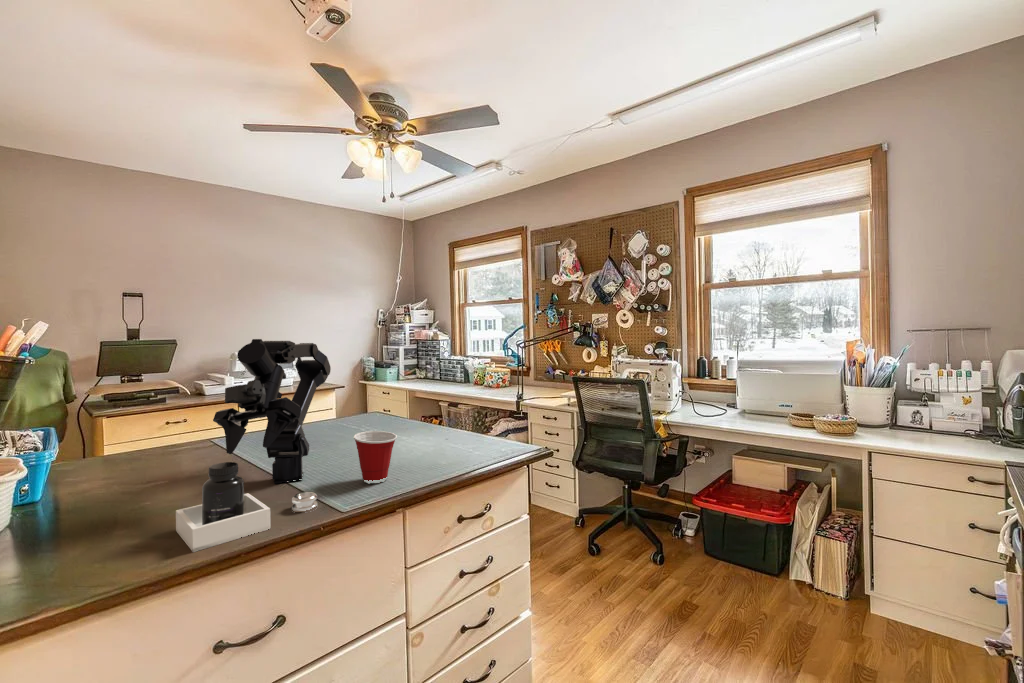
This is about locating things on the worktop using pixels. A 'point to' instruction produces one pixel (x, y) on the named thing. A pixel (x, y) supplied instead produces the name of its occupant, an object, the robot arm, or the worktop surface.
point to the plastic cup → (374, 453)
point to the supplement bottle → (222, 493)
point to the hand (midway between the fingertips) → (246, 450)
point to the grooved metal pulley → (304, 501)
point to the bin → (221, 525)
